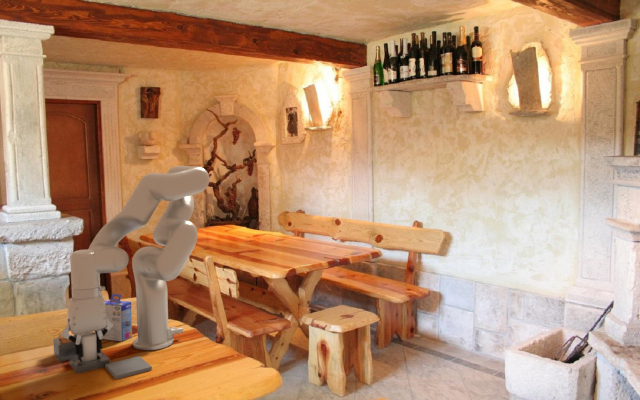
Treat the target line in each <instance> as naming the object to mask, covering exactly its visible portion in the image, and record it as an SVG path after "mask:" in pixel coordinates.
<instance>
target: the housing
mask: <svg viewBox="0 0 640 400" xmlns="http://www.w3.org/2000/svg"><path fill="white" fill-rule="evenodd" d="M53 355H54V357H55V356H56V357H55V358H56V360H59V361H58V363H61V362H65V360H66V361H69V357H71V356H75V355H76V354H75V343H74V342H67V343H61V339H59V337H56V338H53Z"/></svg>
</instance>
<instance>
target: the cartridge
mask: <svg viewBox="0 0 640 400" xmlns="http://www.w3.org/2000/svg"><path fill="white" fill-rule="evenodd" d="M81 344H82V351H83V357H81V363H85V362H89V361H93V360H97V339H96V333H95V331H92V332H87V333H82V335H81Z"/></svg>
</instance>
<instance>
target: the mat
mask: <svg viewBox="0 0 640 400" xmlns="http://www.w3.org/2000/svg"><path fill="white" fill-rule="evenodd" d="M104 368H105V369H106V370H107V371H108V372H109V374H111V376H112V377H114V379H115V380H118V379H122V378H126V377H131V376H134V375H138V374H142V373H145V372H151V371H152V370H153V367H152V365H151V364H149V362H148V361H146V360H145V359H144V358H143V357H142V356H140V355H137V356H133V357H129V358H125V359H122V360H117V361H113V362H110V363H108V364H105V367H104Z"/></svg>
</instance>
